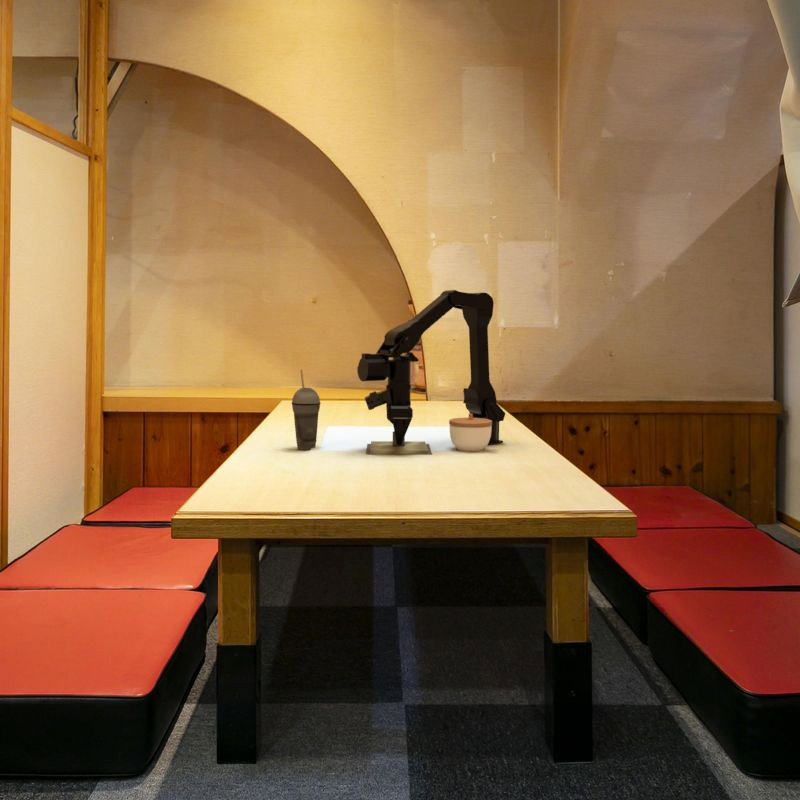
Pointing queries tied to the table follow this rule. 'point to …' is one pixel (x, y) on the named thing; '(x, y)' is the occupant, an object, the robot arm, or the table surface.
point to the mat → (397, 454)
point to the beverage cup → (306, 416)
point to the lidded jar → (470, 433)
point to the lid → (398, 447)
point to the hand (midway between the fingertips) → (398, 442)
